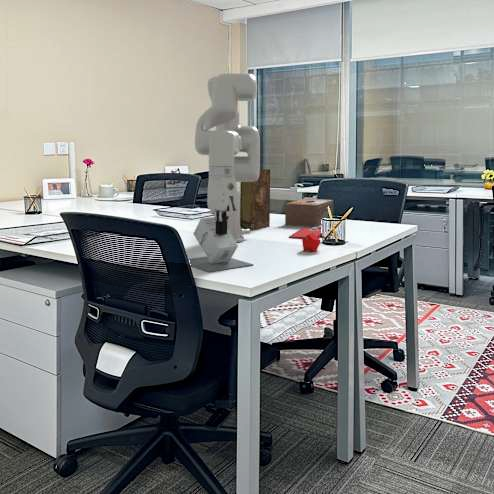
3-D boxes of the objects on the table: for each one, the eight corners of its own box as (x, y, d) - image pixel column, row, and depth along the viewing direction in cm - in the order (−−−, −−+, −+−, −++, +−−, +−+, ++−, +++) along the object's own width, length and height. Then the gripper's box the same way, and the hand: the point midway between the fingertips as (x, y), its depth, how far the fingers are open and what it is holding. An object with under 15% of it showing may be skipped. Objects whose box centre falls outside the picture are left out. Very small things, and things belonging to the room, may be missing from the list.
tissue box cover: (315, 227, 254) (316, 205, 252) (285, 225, 260) (285, 203, 259) (332, 220, 277) (333, 200, 275) (304, 218, 283) (305, 198, 281)
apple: (309, 232, 204) (300, 227, 197) (326, 238, 201) (317, 233, 194) (302, 251, 204) (293, 246, 197) (319, 256, 200) (310, 252, 194)
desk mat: (220, 255, 189) (220, 254, 189) (253, 265, 175) (253, 264, 175) (177, 261, 180) (177, 260, 180) (209, 272, 165) (209, 270, 165)
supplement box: (210, 264, 174) (192, 234, 180) (230, 261, 179) (212, 231, 185) (219, 248, 170) (200, 217, 176) (239, 245, 174) (219, 215, 180)
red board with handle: (341, 229, 248) (307, 228, 253) (341, 223, 248) (307, 222, 253) (326, 242, 220) (288, 240, 225) (326, 234, 220) (288, 233, 225)
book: (260, 225, 259) (261, 169, 255) (271, 226, 256) (271, 169, 252) (240, 229, 246) (240, 170, 241) (250, 230, 243) (251, 170, 238)
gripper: (246, 173, 167) (246, 236, 170) (217, 171, 179) (217, 230, 182) (225, 173, 163) (225, 238, 166) (197, 172, 175) (197, 232, 177)
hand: (221, 233), depth 174 cm, fingers closed
